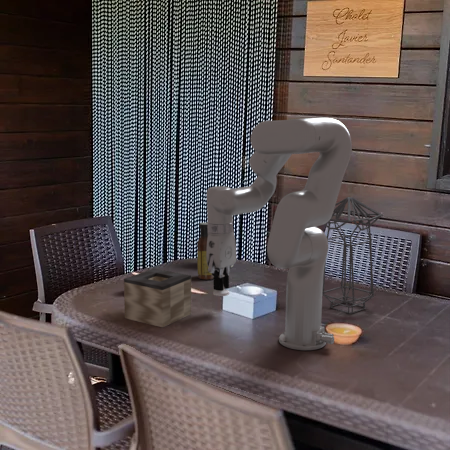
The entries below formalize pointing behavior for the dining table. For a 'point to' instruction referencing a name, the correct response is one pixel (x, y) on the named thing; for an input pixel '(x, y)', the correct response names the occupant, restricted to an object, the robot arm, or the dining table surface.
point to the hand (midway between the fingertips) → (221, 288)
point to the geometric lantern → (351, 249)
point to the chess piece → (221, 293)
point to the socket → (157, 297)
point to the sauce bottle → (203, 253)
